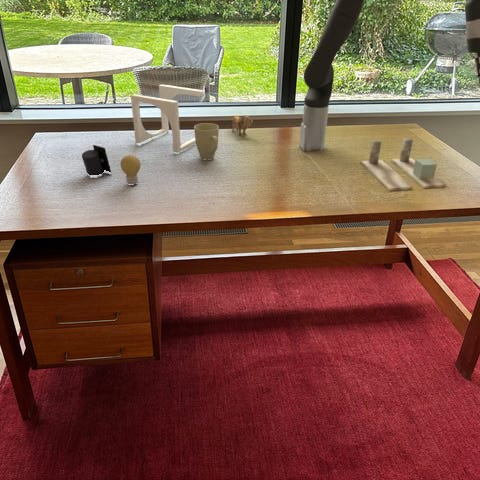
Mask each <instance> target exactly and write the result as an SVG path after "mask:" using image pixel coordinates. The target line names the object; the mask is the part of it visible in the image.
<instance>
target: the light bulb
mask: <svg viewBox="0 0 480 480" xmlns="http://www.w3.org/2000/svg"><path fill="white" fill-rule="evenodd" d="M141 166H142V164H141V160H140V158H138V157H137V156H136V155H131V154H129V155H125V156H123V158H122V159H121V160H120V168H121V170H122V172H123V173H124V174H125V178H126V184H127V183H128V184H136V183H138V184H139V177H138V173H139V172H140V169H141ZM128 184H127V185H128Z"/></svg>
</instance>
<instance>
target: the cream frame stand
mask: <svg viewBox="0 0 480 480" xmlns="http://www.w3.org/2000/svg"><path fill="white" fill-rule="evenodd" d="M204 91H205V90H201V89H197V88H196V89H195V88H190V87H189V88H188V87H183V86H175V85H168V84H159V85H158V92H159V97H154V96H148V95H141V94H135V93H134V94H130V100H131V103H130V104H131V111H132V120H133V122H132V123H133V129H134V130H133V131H134V139H135V141H134V142H135V144H136V143H141V142H143V141H145V140H147V139H149V138H152V137H154V136H157V135H159V134H162V133H165V132H168V131H169V132H170V130H169V129H170V128H171V135H172V136H171V137H172V151H173V152H177V153H178V152H180V151H182V150H184V149H186V148H188V147H190V146H192V145H194V144H196V140H195V137H193V138H192V139H190V140H188V141H185V142H183V143H182V144H181V132H180V118H179V117H180V115H179V113H180V112H179V100H173V98H174V97H175V96H177V95H186V96H193V97H198V98H199V97H200V98H201V97H204V95H205V94H204ZM140 103H143V104H144V103H145V104H150V105H152V106H154V107H156V108H158V109H159V110H160V118H161V119H160V120H161V128H160V129H159V130H156V131H154V132H152V133H149V132H148V131H147V130H146V129H145V127H144V125H143V123H142V118H141V110H140V109H141V108H140ZM169 125H170V127H169ZM194 146H195V145H194Z"/></svg>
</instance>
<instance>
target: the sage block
mask: <svg viewBox="0 0 480 480" xmlns="http://www.w3.org/2000/svg"><path fill="white" fill-rule="evenodd" d="M414 160H415V165H414V170H413V174H414V175H416V176H417V177H418V178H419V179H427V178H434V175H435V173H436V168H437V165H438V164H437V163H436V162H434V161H433V160H432V159H430V158H420V159H414Z"/></svg>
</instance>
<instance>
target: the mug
mask: <svg viewBox="0 0 480 480" xmlns="http://www.w3.org/2000/svg"><path fill="white" fill-rule="evenodd" d="M193 129H194V131H193V132H194V138H195V140H196V145H195V146H196V149H197V151H198V155H199V157H200V159H201V158H202V159H206V160H205V161H209V160H208V159H212V160H213V159H214V158H215V155H216V151H217V150H218V146H219V130H220V127H219V125H218V124H215V123H211V122H203V123H198V124H195V125H194V126H193ZM202 159H201V160H202Z"/></svg>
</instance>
